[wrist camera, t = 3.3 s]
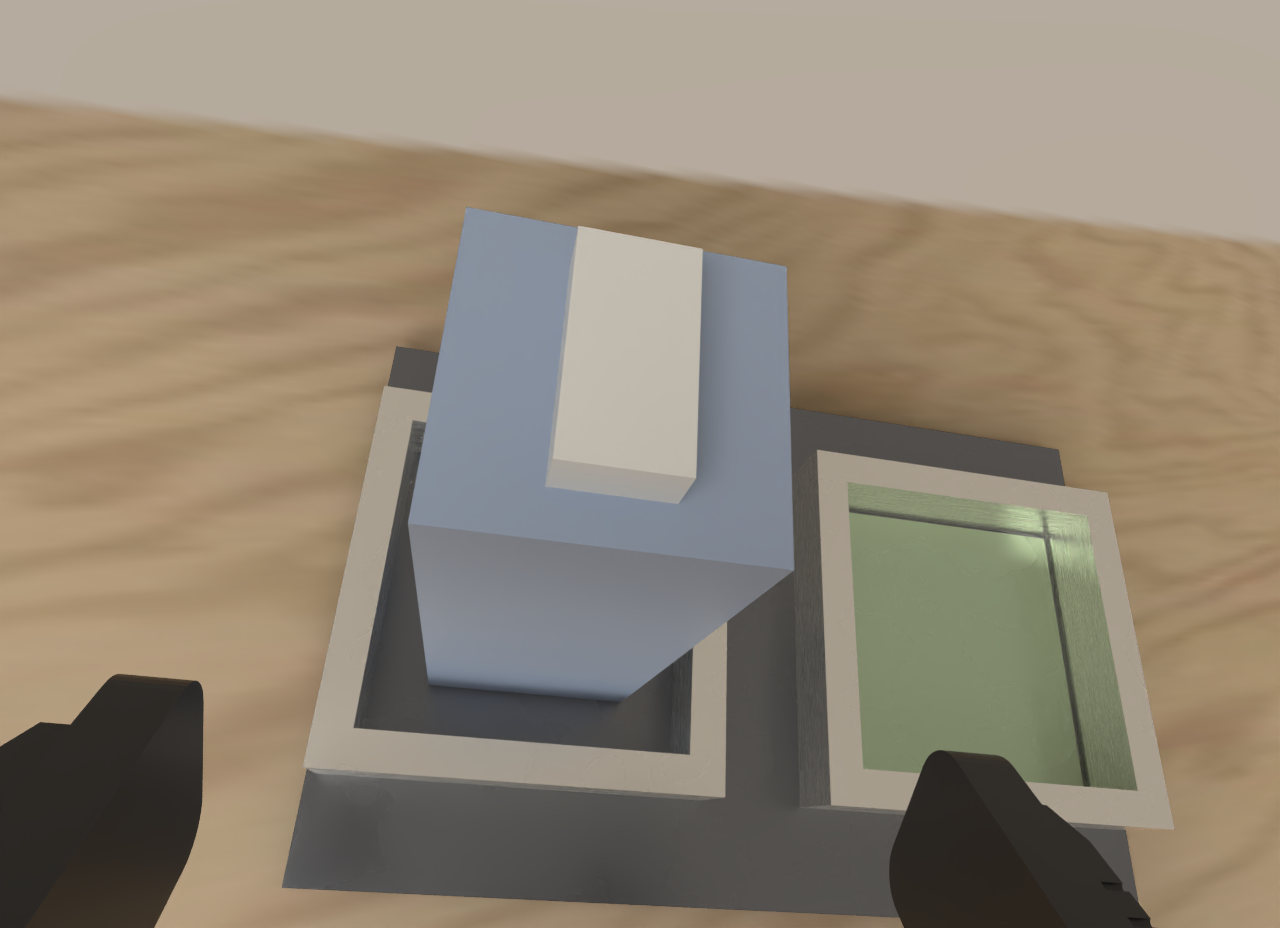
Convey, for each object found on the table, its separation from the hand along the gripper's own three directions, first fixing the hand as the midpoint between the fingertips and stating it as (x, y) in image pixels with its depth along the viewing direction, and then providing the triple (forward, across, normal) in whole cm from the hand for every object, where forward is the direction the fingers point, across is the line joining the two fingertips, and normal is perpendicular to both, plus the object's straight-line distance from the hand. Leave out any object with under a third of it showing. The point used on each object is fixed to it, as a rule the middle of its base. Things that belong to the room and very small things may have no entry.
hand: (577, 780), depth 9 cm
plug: (+11, 0, +4) cm, 11 cm away
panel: (+11, -6, +4) cm, 13 cm away
